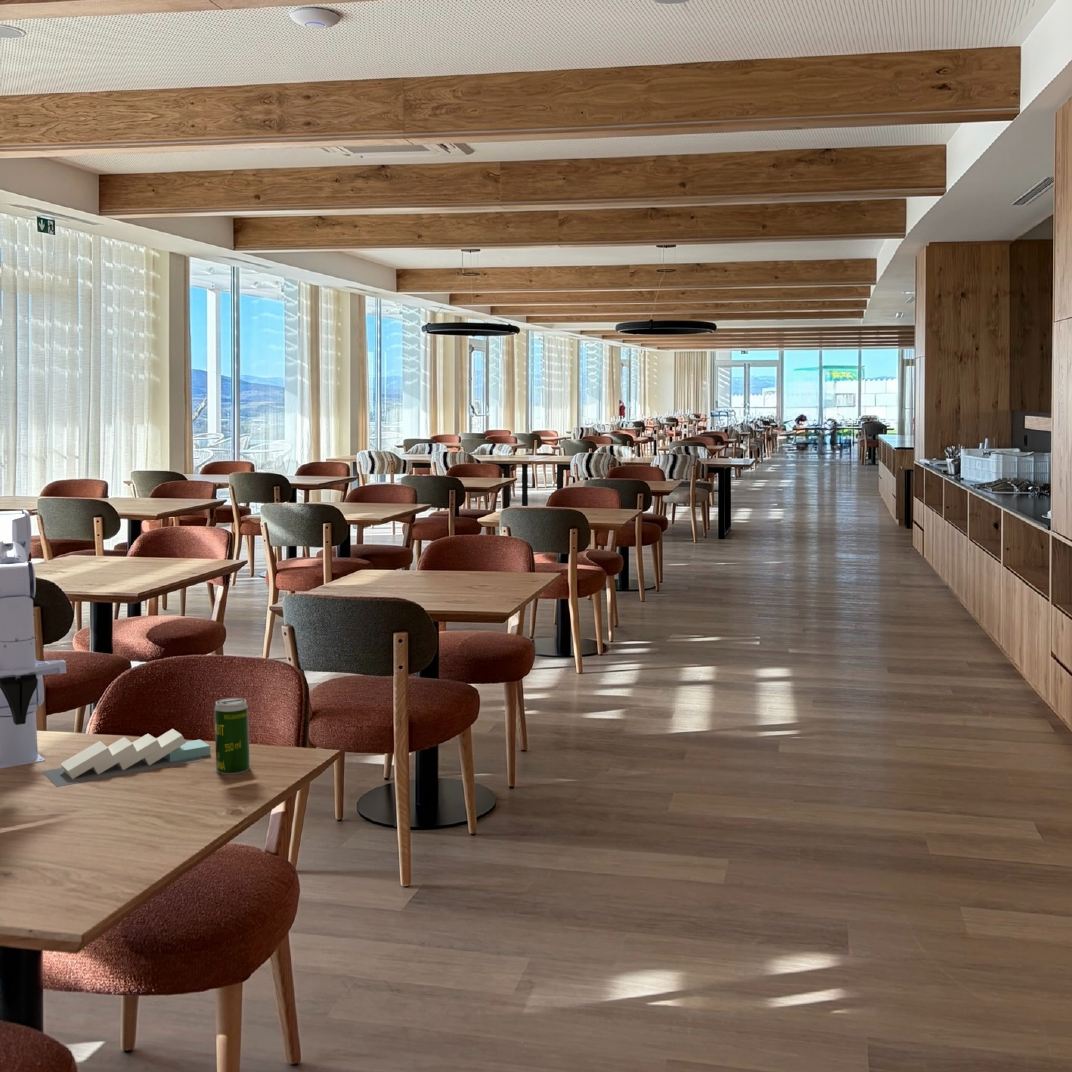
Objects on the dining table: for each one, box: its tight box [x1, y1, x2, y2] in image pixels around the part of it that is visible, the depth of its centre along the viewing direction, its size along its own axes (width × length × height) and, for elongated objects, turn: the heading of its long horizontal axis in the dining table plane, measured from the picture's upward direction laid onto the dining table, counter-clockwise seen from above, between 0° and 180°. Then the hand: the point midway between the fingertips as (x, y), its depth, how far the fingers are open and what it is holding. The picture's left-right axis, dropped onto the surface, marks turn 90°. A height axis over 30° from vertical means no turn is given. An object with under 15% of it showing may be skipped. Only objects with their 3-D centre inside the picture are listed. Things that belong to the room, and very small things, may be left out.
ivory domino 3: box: [116, 733, 161, 770], centre depth 198 cm, size 2×5×7 cm
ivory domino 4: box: [142, 728, 187, 765], centre depth 200 cm, size 2×5×7 cm
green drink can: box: [213, 697, 251, 775], centre depth 194 cm, size 5×5×12 cm
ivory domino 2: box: [91, 736, 137, 774], centre depth 196 cm, size 2×5×7 cm
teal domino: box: [164, 739, 211, 762], centre depth 203 cm, size 2×5×7 cm
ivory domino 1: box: [60, 740, 112, 779], centre depth 193 cm, size 2×5×7 cm
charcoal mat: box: [41, 757, 205, 788], centre depth 197 cm, size 10×24×1 cm, turn 126°
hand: (19, 723), depth 187 cm, fingers closed
